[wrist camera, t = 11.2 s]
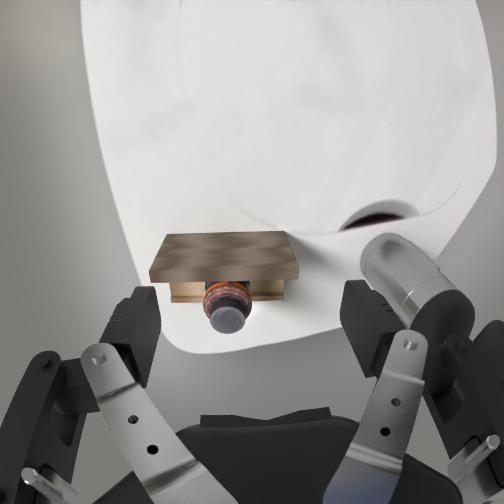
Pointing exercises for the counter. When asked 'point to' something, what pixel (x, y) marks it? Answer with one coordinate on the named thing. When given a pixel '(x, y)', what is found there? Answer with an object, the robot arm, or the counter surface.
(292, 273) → the cleat board
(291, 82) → the counter surface
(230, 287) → the supplement bottle
